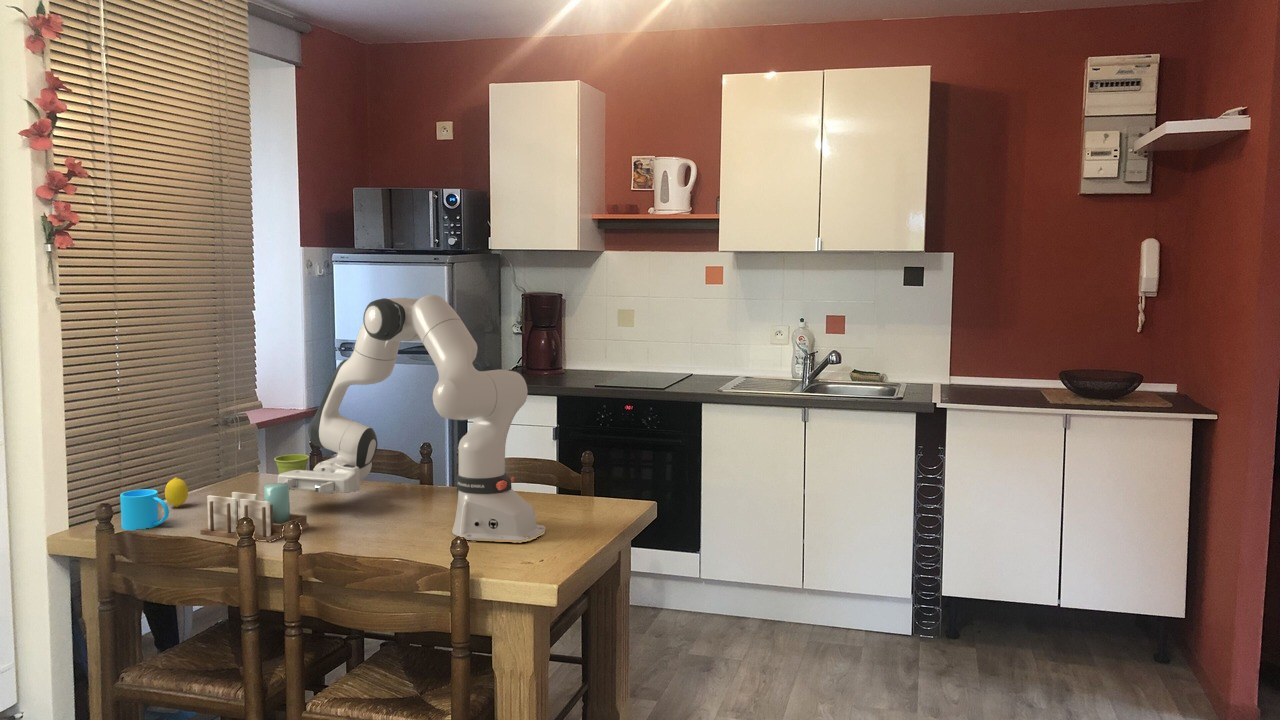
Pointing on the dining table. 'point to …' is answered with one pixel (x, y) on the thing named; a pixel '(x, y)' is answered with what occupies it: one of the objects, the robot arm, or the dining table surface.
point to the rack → (244, 505)
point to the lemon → (176, 492)
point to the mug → (141, 509)
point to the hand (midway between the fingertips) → (300, 488)
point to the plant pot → (291, 462)
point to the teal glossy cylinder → (278, 501)
